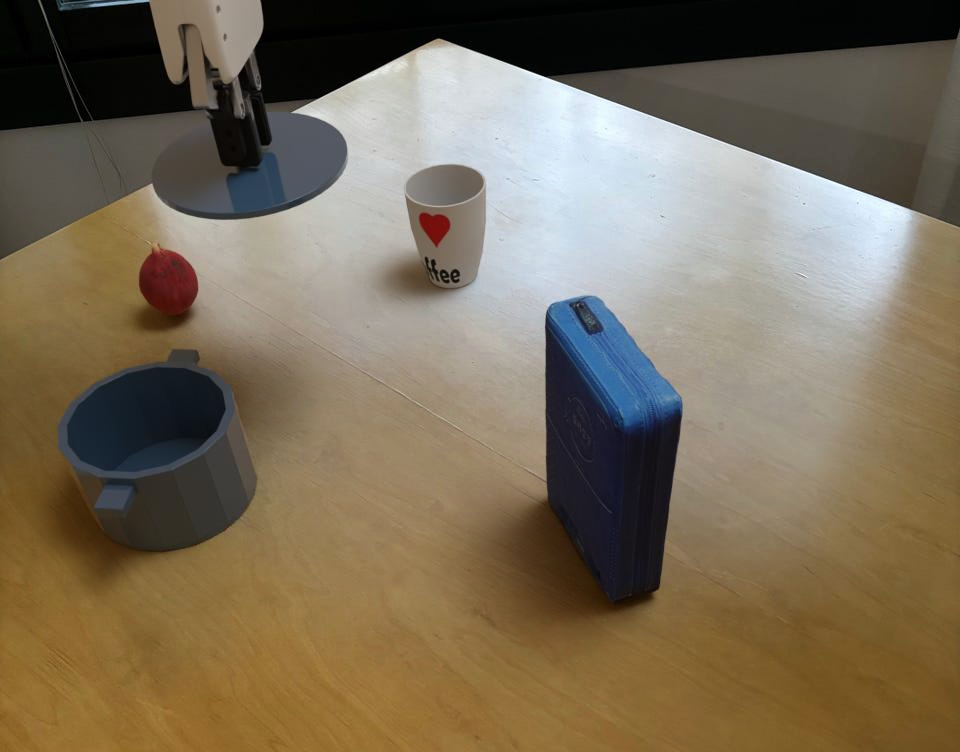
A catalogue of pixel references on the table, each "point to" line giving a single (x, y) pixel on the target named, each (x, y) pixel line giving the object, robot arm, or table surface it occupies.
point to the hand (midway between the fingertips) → (247, 152)
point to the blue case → (608, 446)
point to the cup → (448, 221)
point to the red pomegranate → (168, 281)
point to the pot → (159, 453)
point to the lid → (251, 169)
